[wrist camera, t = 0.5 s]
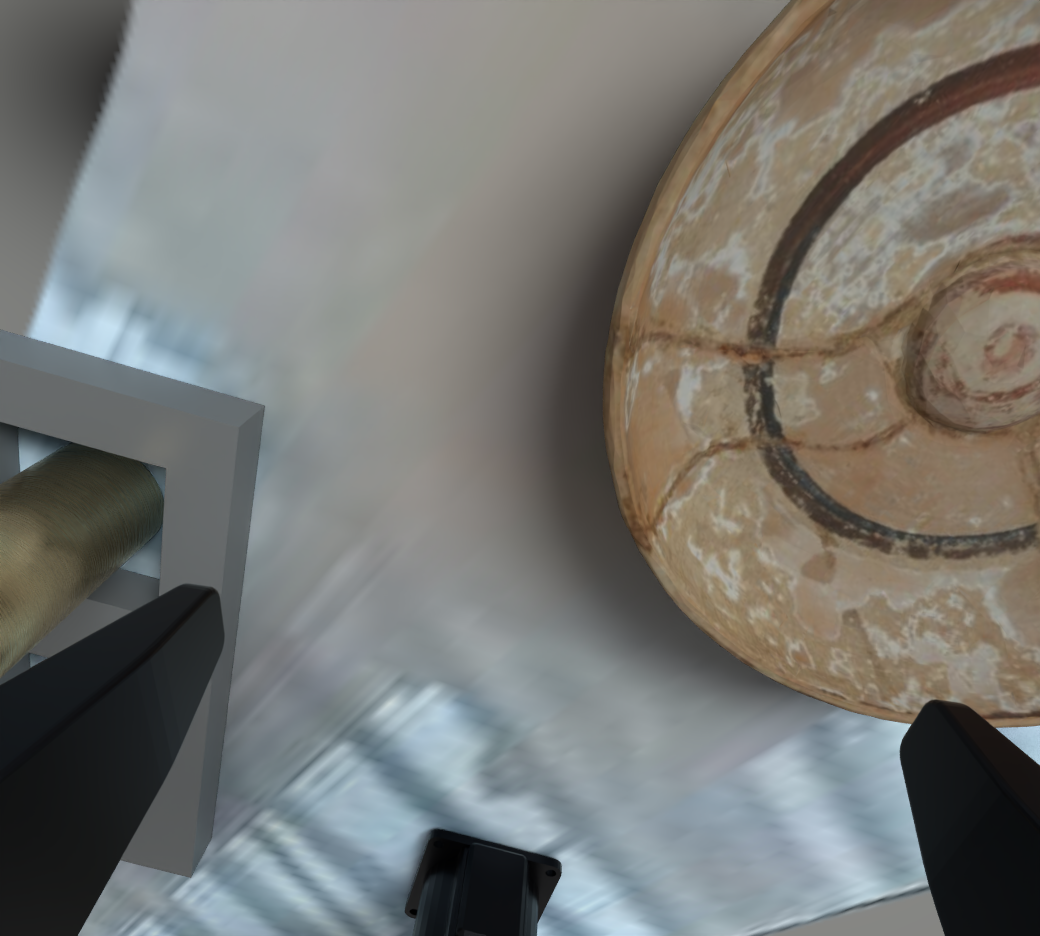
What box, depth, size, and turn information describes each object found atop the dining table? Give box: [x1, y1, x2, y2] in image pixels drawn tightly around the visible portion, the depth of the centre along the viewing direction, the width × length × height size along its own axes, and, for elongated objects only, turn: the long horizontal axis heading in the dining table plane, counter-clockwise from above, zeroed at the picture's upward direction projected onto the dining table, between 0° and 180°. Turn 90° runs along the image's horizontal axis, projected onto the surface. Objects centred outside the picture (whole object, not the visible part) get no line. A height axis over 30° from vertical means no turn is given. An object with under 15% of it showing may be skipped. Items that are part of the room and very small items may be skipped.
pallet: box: [0, 330, 265, 878], centre depth 28 cm, size 24×11×2 cm, turn 164°
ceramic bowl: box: [603, 0, 1040, 728], centre depth 19 cm, size 23×24×5 cm
